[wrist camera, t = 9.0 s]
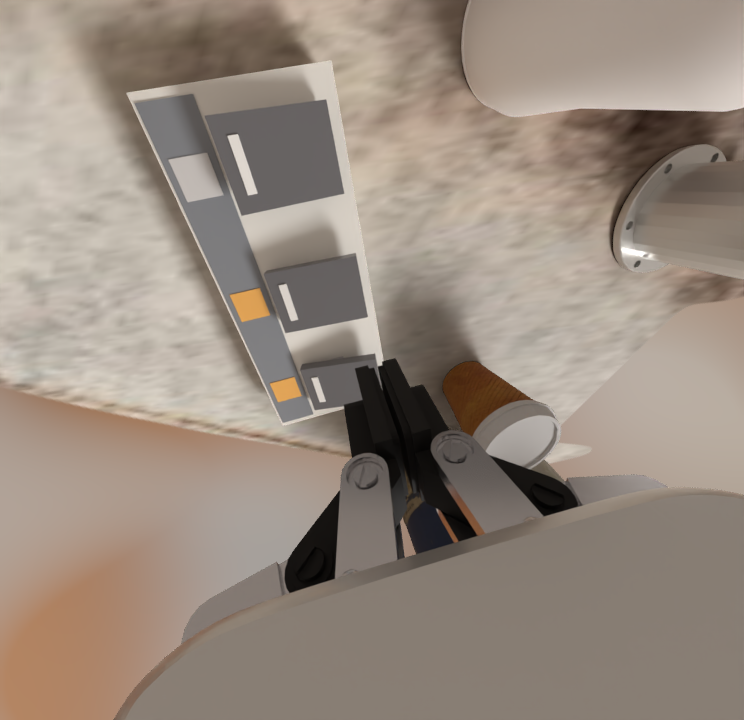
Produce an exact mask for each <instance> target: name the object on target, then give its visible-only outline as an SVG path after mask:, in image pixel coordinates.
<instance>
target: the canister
mask: <svg viewBox="0 0 744 720" xmlns="http://www.w3.org/2000/svg"><path fill="white" fill-rule="evenodd" d="M404 470H405V468H404ZM405 476H406V481H407V487H408V493H409V495H407V496H405V498H406V504H407V510H406V512H405V514H404V516H403V519H404V522H405V524H406V526H407V529H408V532H409V534H410V537H411V541H412V543H413V546H414V550H415V552H416V554H419V553H422V552H426V551H429V550H432V549H436V548H439V547H443V546H446V545H449V544H453V543H454V542H453V540H452V538H451V536H450V535H449V533H448V531H447V529H446V527H445V526H444V524H443V522H442V520H441V519H440V517H439V515H438V513H437V510H436V508H434V507H432V506H430V505H428V504H426V502H425V501H421V498H420V495H419V492H418V493H414V494H413V492H412V489H411V486H410V483H409V480H408V477H407V474H406V471H405Z"/></svg>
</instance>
